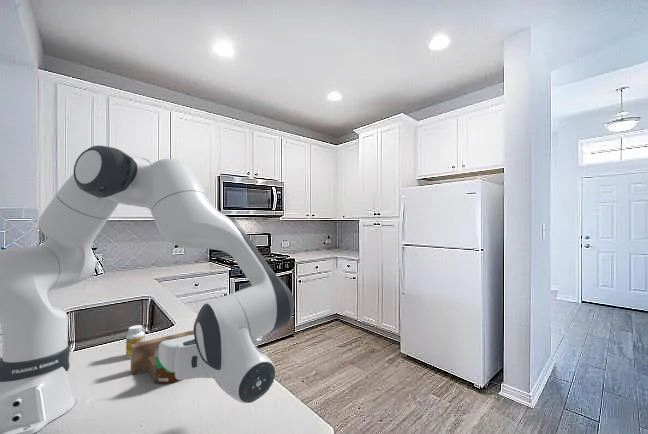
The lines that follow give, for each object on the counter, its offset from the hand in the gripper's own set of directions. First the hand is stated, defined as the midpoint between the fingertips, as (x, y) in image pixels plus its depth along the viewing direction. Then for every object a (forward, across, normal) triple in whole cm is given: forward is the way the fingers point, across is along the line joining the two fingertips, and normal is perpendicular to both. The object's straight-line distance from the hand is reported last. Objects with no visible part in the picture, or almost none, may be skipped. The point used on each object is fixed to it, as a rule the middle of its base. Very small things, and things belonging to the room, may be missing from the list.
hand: (199, 332), depth 72 cm
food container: (+18, -1, +18) cm, 25 cm away
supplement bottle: (+44, +6, +19) cm, 48 cm away
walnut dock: (+25, 0, +18) cm, 31 cm away
